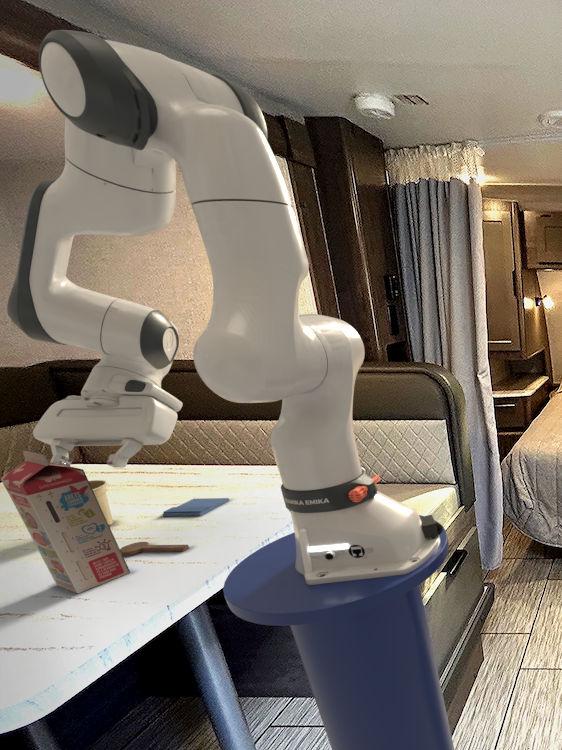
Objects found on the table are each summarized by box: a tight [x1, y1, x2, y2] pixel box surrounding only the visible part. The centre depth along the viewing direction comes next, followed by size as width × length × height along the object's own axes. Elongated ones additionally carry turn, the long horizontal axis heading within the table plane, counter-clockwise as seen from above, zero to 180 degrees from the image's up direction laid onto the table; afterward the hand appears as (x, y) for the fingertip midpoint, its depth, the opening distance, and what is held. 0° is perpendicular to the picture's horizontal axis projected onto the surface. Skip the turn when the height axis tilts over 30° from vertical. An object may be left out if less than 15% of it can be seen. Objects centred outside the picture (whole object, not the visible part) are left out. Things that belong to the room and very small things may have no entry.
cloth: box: [162, 497, 230, 517], centre depth 109 cm, size 8×8×1 cm
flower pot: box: [88, 479, 114, 526], centre depth 99 cm, size 9×9×9 cm
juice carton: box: [0, 450, 131, 595], centre depth 79 cm, size 7×7×22 cm
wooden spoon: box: [119, 541, 190, 557], centre depth 91 cm, size 12×4×1 cm, turn 90°
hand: (86, 466), depth 82 cm, fingers open, 8 cm apart
